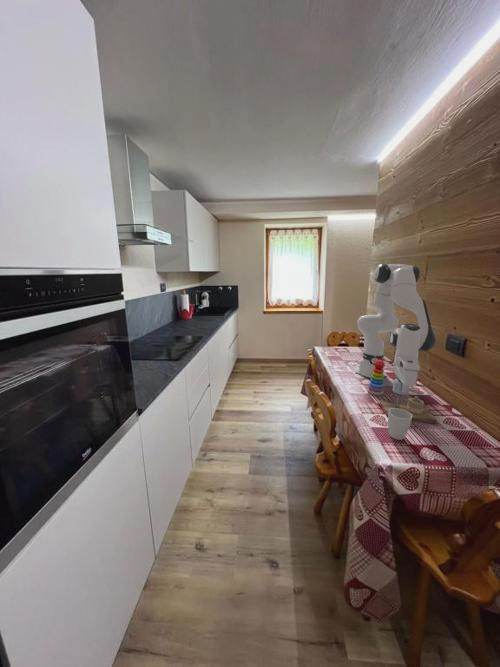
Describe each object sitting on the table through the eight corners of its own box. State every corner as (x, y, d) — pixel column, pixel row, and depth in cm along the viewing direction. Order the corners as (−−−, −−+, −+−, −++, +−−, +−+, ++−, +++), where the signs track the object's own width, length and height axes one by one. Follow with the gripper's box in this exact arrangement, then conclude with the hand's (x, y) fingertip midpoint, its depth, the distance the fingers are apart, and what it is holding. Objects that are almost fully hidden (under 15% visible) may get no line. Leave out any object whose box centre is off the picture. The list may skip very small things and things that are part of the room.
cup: (413, 440, 103) (417, 417, 101) (396, 443, 101) (400, 420, 99) (396, 428, 111) (400, 407, 109) (380, 431, 109) (384, 409, 106)
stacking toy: (384, 396, 140) (390, 363, 136) (368, 394, 142) (373, 361, 138) (380, 390, 148) (385, 358, 144) (365, 388, 149) (369, 357, 145)
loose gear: (391, 388, 127) (393, 378, 126) (405, 390, 125) (407, 380, 124) (395, 393, 121) (396, 383, 120) (409, 395, 120) (411, 385, 119)
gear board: (379, 402, 133) (382, 387, 132) (424, 408, 129) (427, 392, 127) (386, 416, 120) (389, 399, 118) (436, 423, 116) (440, 405, 114)
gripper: (391, 352, 130) (387, 379, 133) (405, 366, 111) (399, 397, 114) (405, 354, 129) (401, 380, 132) (421, 368, 110) (416, 399, 113)
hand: (400, 388), depth 123 cm, fingers closed on loose gear, 6 cm apart
